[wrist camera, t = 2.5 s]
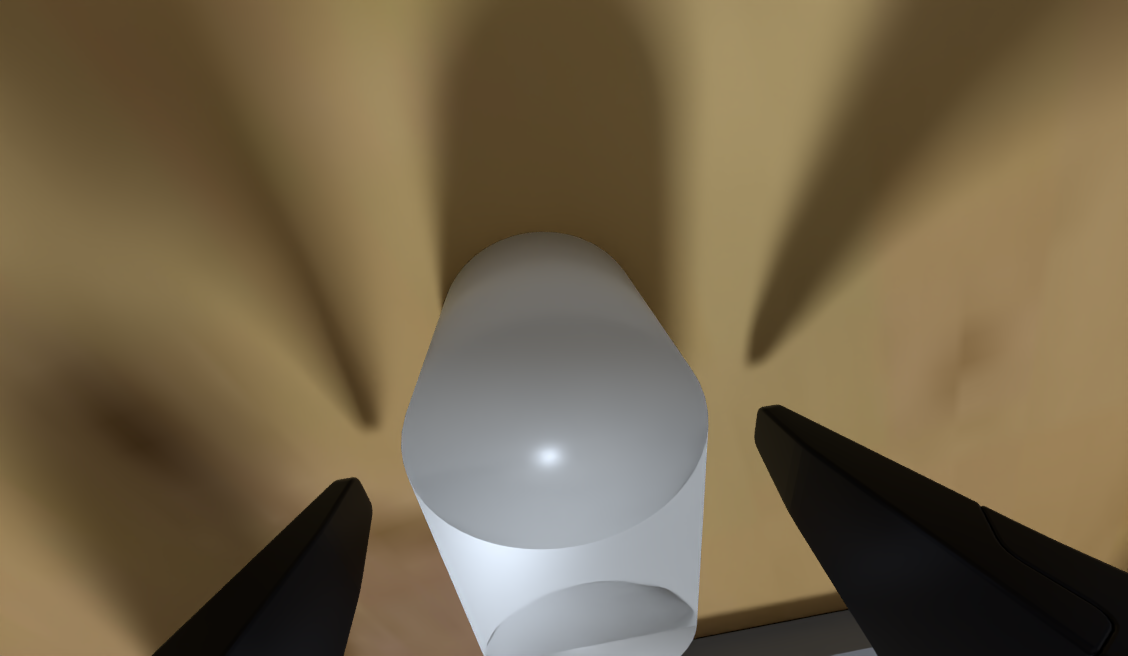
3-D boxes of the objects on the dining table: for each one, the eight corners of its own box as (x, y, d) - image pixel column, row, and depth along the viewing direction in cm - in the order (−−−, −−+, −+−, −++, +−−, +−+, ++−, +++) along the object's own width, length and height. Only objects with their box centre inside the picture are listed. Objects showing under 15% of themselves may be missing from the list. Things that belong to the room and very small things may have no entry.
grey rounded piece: (634, 216, 8) (716, 289, 5) (649, 578, 13) (691, 722, 10) (417, 249, 8) (352, 346, 4) (523, 601, 13) (526, 755, 10)
